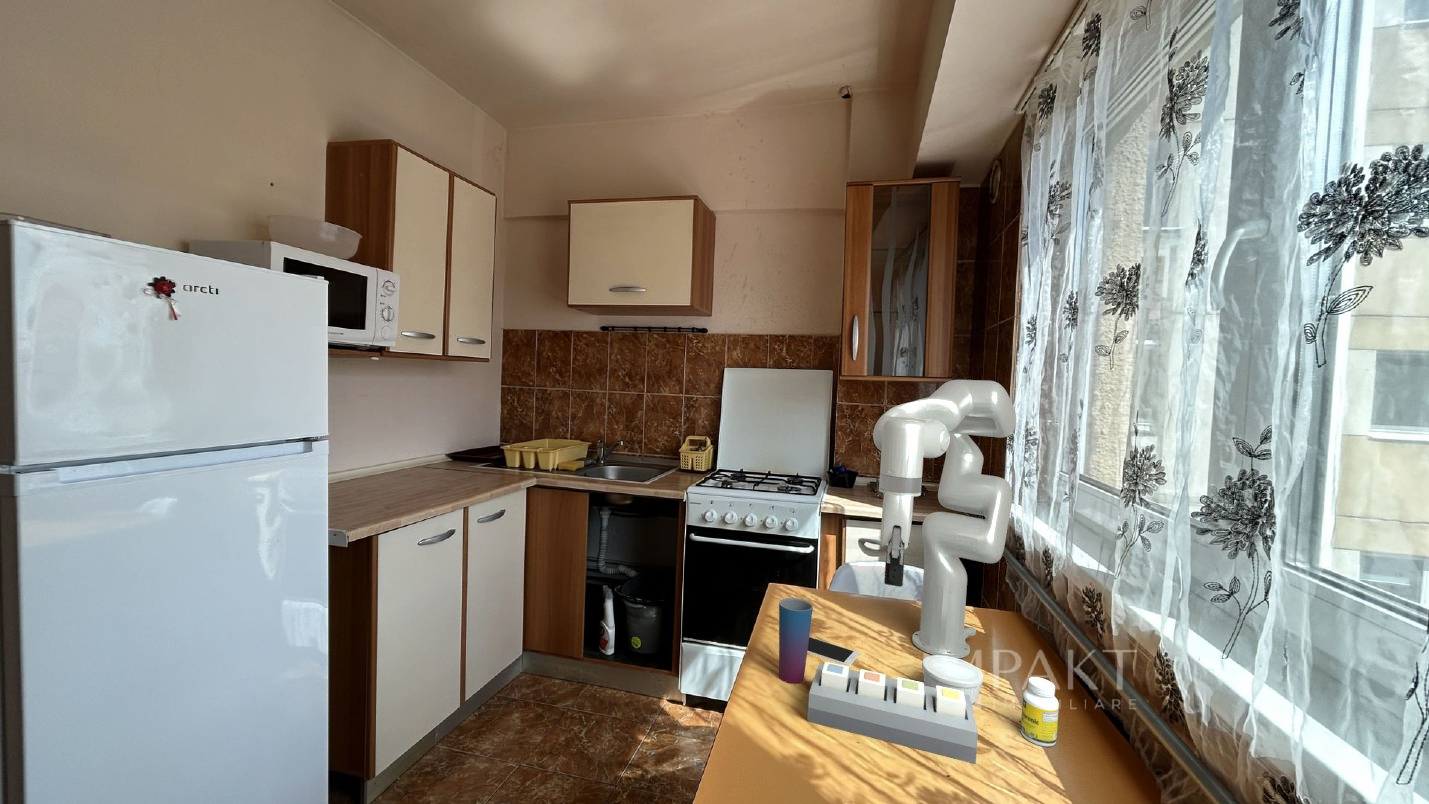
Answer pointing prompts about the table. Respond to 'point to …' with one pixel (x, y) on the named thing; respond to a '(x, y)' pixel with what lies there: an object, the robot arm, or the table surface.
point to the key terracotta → (871, 684)
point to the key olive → (910, 693)
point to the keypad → (894, 718)
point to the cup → (793, 638)
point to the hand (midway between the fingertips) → (893, 577)
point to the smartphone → (831, 651)
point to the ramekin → (952, 675)
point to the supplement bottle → (1040, 712)
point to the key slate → (835, 676)
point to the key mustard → (950, 702)
